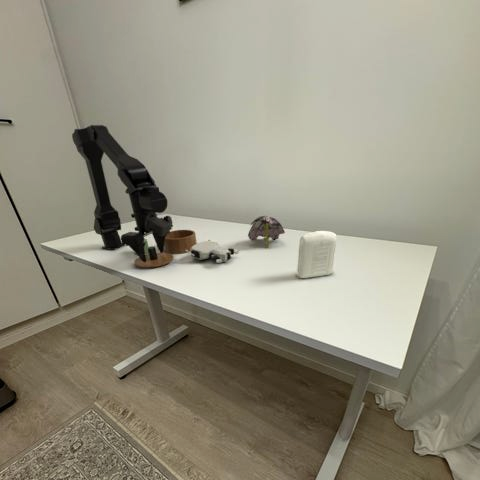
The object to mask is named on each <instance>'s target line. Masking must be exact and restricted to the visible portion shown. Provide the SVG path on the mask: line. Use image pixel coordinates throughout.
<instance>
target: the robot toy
mask: <svg viewBox="0 0 480 480" xmlns="http://www.w3.org/2000/svg"><path fill="white" fill-rule="evenodd" d="M185 251H186V253H188V254H189V255H190V256H191V257H192V258H195V259H197V260H199V261H202V260H208V259H212V261H213V262H214V264H221V263H223V262H227V261H228V260H231V258H232V256H234V255H238V254H239V250H237V249H236V250H235V249H234V248H227V247H223V246H220V243H218V242H215V241H211V240H210V239H208V240H204V241H200V242H197V244H195V245H194V246H192V247H191V249H190V252H189V251H187V250H185Z"/></svg>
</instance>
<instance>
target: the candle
mask: <svg viewBox="0 0 480 480" xmlns="http://www.w3.org/2000/svg"><path fill="white" fill-rule="evenodd" d="M144 243H146V244H145V246H144V251H145V255H146V254H149V253H148V249H147V248H148V247H150V246H149V242H148V239H147V238H144Z"/></svg>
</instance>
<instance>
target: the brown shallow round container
mask: <svg viewBox="0 0 480 480" xmlns="http://www.w3.org/2000/svg"><path fill="white" fill-rule="evenodd" d="M197 243H198V242H197V235H196V232H195V231H194V230H191V229H175V230H170V233H169V234H167V235H166V237H165V242H164V252H166V253H170V254H172V255H176V254H177V255H178V254H185V253H187V252H186V251H185V250H187V251H189V252H190V253H191V251H190V249H191V247H192V246H194V245H195V244H197Z"/></svg>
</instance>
